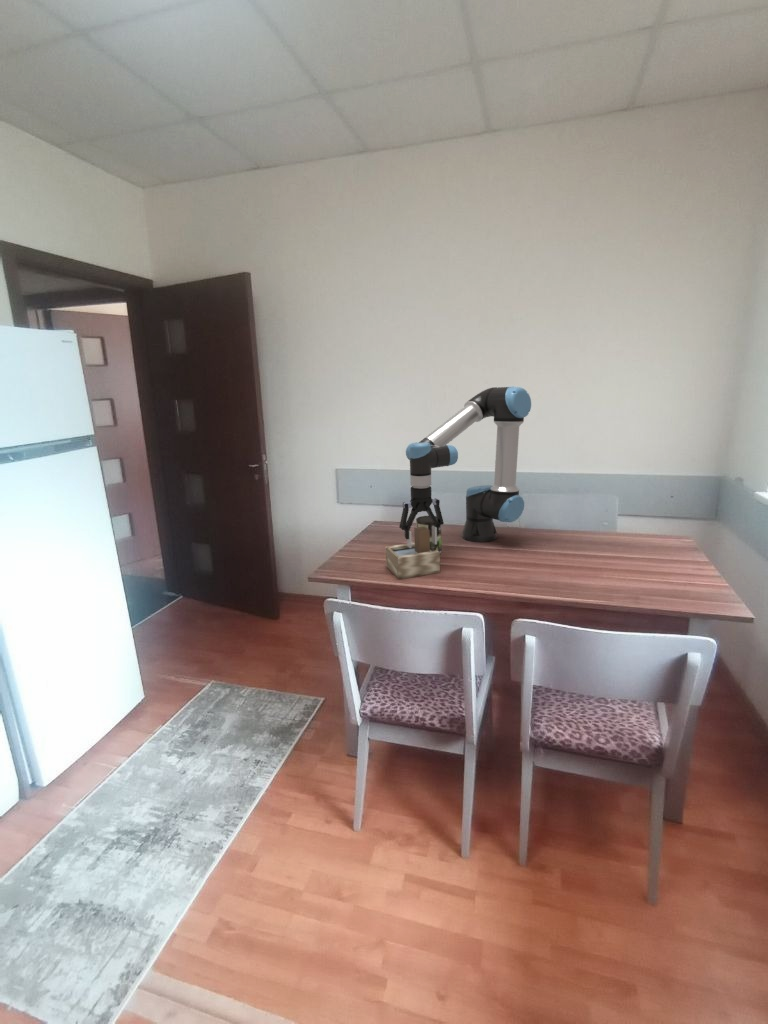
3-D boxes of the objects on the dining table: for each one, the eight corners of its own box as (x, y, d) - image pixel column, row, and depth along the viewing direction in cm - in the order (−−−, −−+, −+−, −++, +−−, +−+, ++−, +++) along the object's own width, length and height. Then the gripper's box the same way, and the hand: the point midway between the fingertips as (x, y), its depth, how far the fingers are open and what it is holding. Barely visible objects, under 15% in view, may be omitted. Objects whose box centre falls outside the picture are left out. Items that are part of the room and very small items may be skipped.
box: (424, 560, 189) (424, 541, 187) (439, 572, 176) (439, 551, 174) (386, 566, 184) (385, 546, 182) (399, 579, 172) (398, 558, 170)
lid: (425, 548, 187) (424, 523, 184) (437, 557, 176) (437, 531, 174) (390, 553, 182) (389, 528, 180) (401, 563, 172) (400, 537, 169)
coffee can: (442, 547, 203) (442, 515, 200) (440, 556, 194) (440, 522, 190) (418, 547, 205) (417, 515, 202) (415, 555, 196) (414, 521, 192)
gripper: (444, 481, 181) (444, 538, 186) (388, 487, 174) (390, 546, 180) (453, 484, 174) (453, 543, 179) (395, 491, 167) (397, 552, 173)
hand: (422, 545), depth 179 cm, fingers open, 9 cm apart
